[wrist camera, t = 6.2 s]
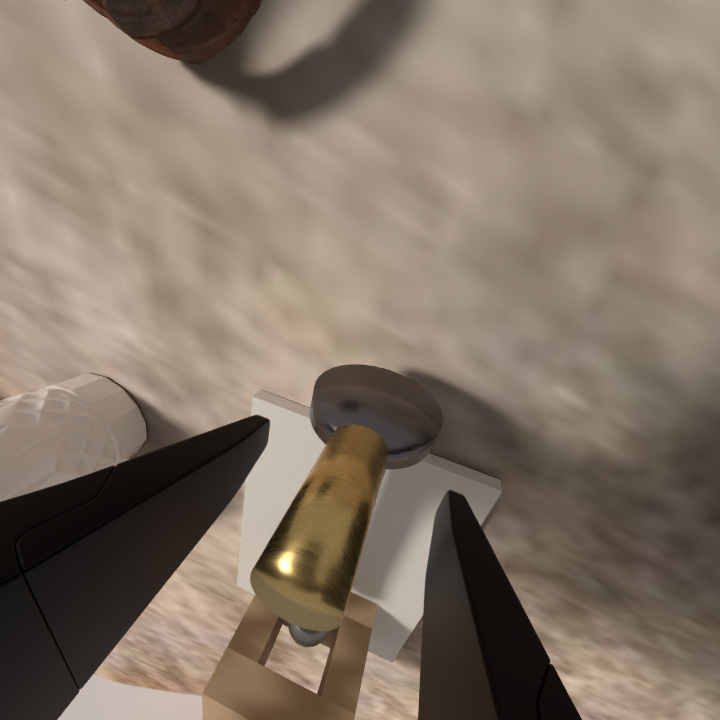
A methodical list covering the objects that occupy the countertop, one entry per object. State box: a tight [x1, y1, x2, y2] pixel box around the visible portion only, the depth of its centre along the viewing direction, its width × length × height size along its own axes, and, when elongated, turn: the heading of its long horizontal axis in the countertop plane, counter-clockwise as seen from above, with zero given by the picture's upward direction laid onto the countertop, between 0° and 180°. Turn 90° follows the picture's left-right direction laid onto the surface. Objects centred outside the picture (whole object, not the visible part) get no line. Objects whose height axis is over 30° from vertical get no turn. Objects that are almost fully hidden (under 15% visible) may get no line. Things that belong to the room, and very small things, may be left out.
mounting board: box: [237, 390, 503, 662], centre depth 21 cm, size 14×20×1 cm
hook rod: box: [250, 365, 443, 647], centre depth 13 cm, size 5×18×9 cm, turn 167°
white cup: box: [0, 373, 147, 501], centre depth 18 cm, size 8×8×10 cm
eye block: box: [202, 592, 377, 720], centre depth 20 cm, size 8×5×8 cm, turn 77°
